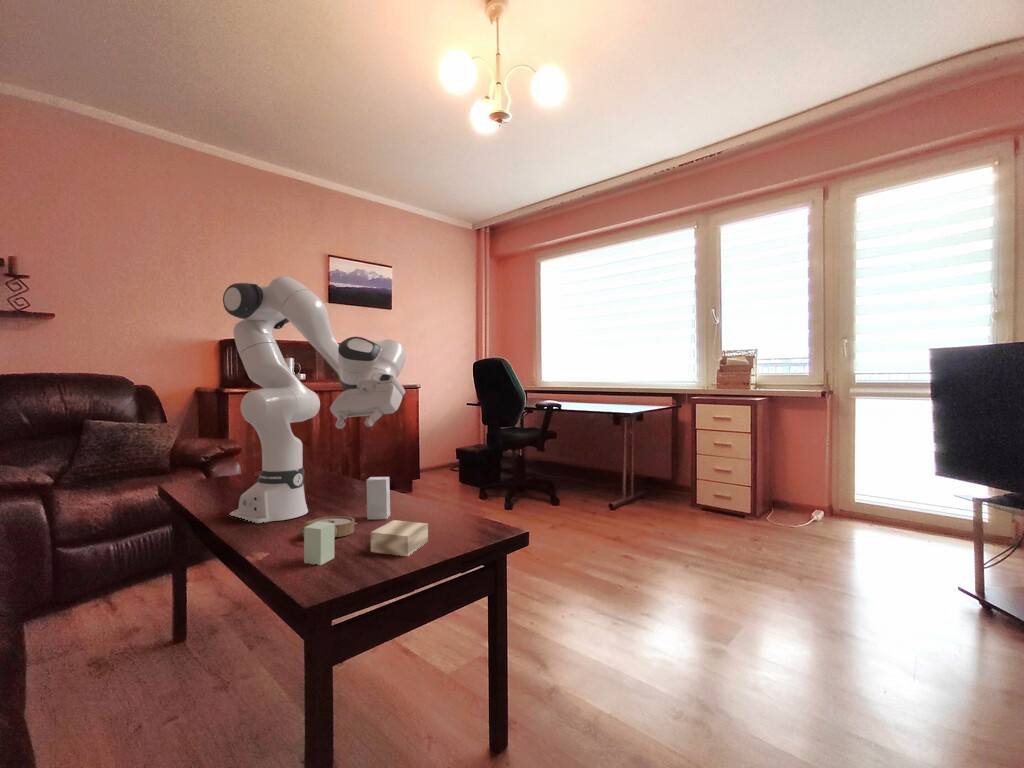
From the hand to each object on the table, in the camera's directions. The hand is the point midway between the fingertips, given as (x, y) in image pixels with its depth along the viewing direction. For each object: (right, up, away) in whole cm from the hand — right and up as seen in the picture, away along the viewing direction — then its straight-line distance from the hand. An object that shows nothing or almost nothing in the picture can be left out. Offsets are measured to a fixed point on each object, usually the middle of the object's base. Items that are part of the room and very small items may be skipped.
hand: (353, 426), depth 114 cm
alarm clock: (-8, -30, +5) cm, 31 cm away
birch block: (+13, -30, -4) cm, 33 cm away
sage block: (-3, -29, -12) cm, 32 cm away
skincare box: (0, -30, +20) cm, 36 cm away
